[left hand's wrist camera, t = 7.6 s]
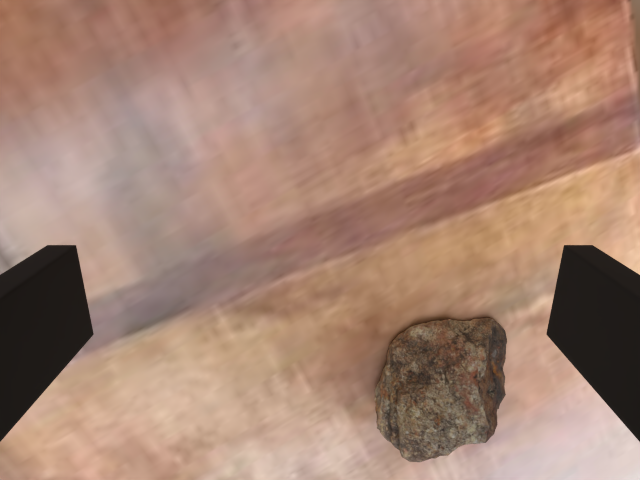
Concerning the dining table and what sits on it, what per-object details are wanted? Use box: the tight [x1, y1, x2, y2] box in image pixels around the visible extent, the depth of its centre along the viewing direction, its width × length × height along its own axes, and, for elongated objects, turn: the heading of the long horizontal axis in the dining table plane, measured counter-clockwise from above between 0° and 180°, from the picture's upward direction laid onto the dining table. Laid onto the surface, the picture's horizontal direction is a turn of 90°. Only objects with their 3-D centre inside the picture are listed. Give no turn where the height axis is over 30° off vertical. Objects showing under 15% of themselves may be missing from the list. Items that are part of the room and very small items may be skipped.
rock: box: [374, 317, 507, 462], centre depth 43 cm, size 14×9×10 cm
